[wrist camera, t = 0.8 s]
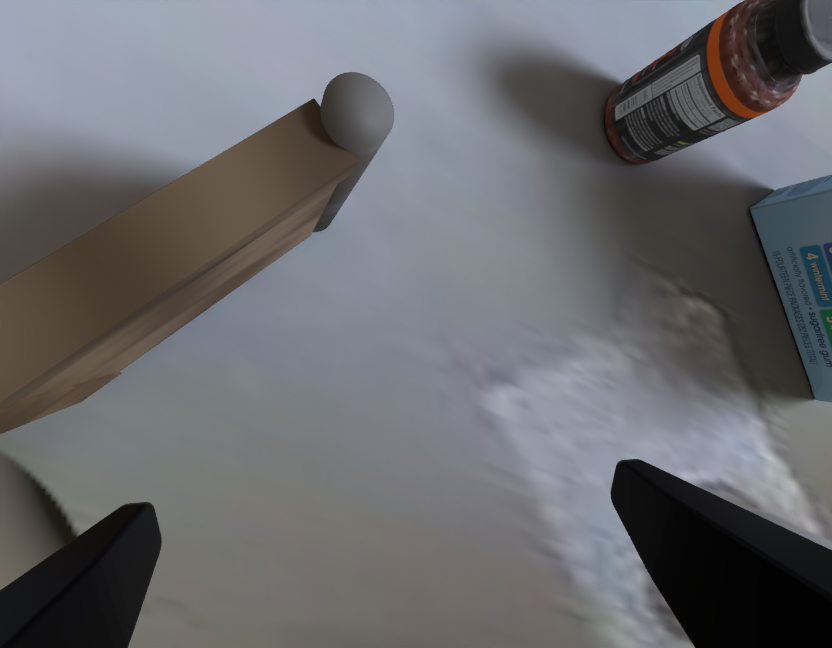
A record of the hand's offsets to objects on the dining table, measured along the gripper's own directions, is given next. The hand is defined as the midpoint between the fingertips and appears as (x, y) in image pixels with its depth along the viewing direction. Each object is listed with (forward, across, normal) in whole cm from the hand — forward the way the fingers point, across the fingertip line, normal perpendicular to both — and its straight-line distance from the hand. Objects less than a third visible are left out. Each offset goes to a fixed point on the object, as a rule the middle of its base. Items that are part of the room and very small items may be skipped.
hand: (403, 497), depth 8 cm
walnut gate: (+14, +8, -1) cm, 16 cm away
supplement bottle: (+24, -20, -10) cm, 33 cm away
